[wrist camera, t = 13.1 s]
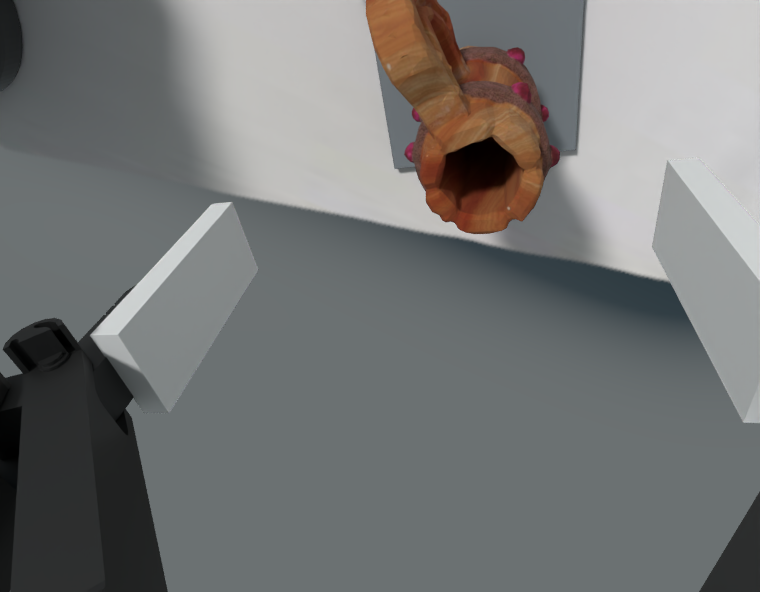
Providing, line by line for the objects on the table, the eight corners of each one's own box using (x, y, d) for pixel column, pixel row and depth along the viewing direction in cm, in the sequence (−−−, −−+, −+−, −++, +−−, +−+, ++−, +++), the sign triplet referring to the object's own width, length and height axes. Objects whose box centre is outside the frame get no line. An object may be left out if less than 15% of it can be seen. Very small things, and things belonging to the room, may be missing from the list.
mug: (559, 128, 36) (595, 228, 24) (460, 178, 40) (450, 286, 28) (468, -80, 30) (458, -81, 18) (360, 2, 33) (293, 46, 22)
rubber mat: (395, 165, 41) (394, 168, 40) (362, -33, 33) (360, -33, 32) (574, 146, 37) (575, 149, 37) (586, -80, 29) (588, -80, 29)
